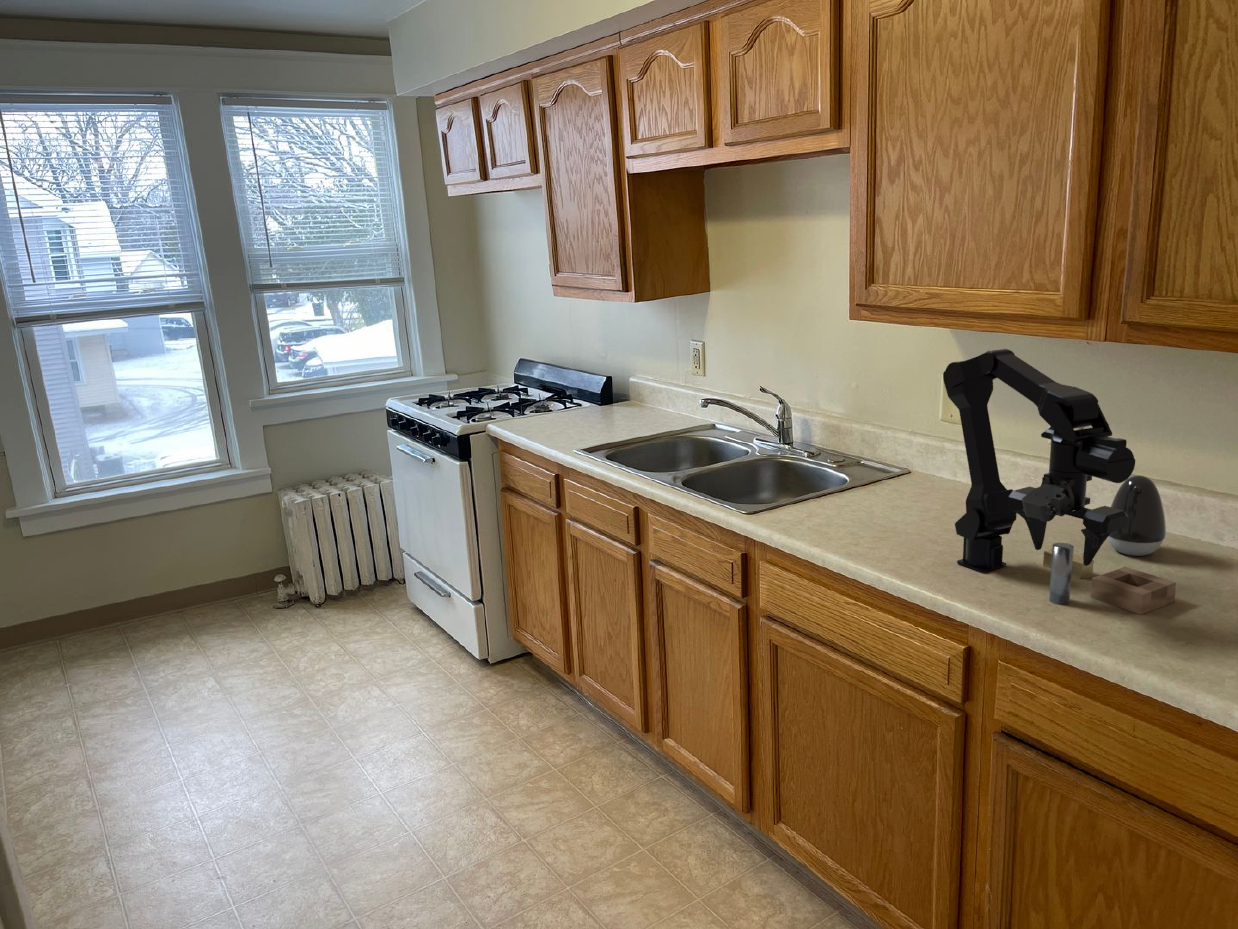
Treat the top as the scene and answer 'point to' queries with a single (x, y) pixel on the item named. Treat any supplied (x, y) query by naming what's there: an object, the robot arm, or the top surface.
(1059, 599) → the cylinder
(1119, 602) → the socket block
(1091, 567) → the square bit
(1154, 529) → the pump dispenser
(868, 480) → the top surface
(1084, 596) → the top surface
